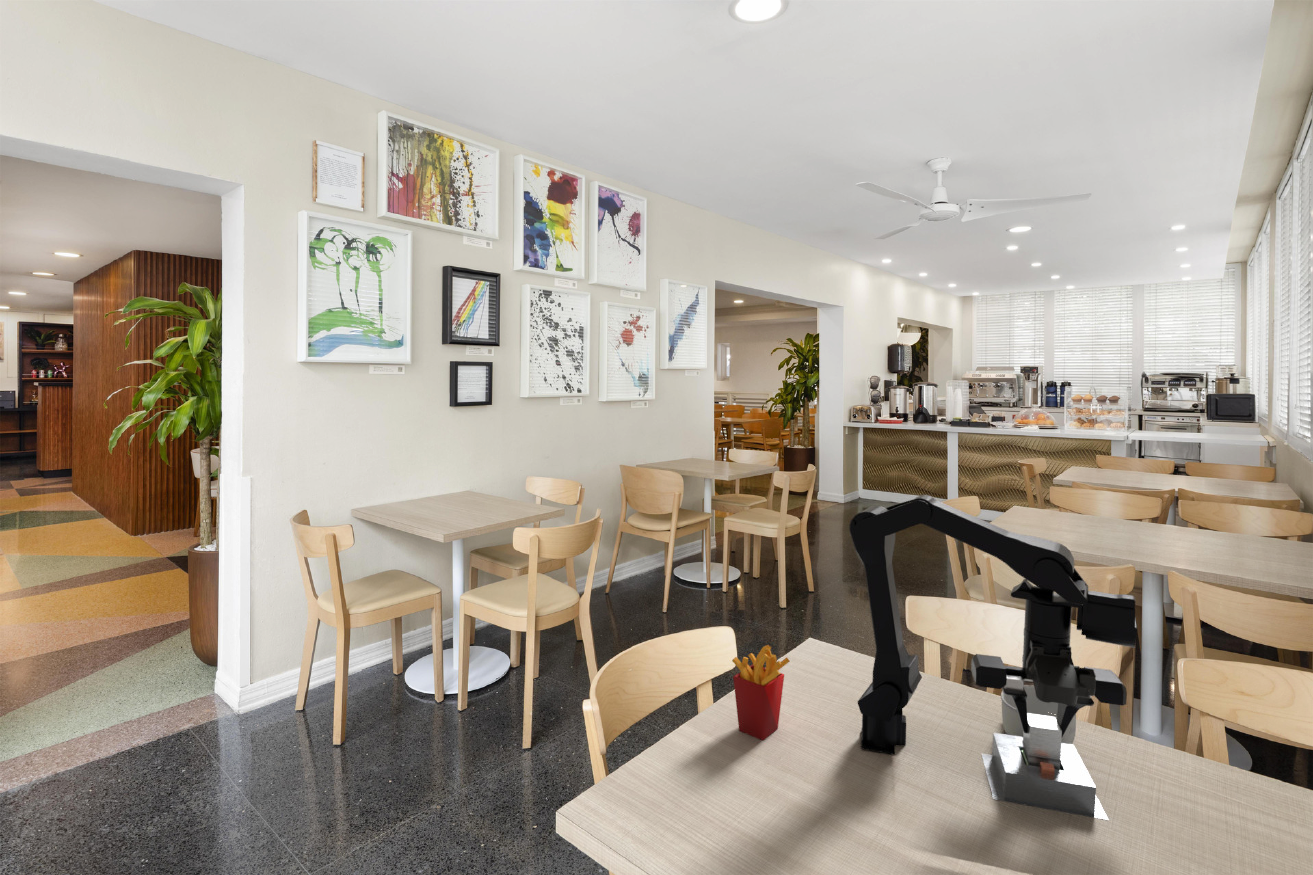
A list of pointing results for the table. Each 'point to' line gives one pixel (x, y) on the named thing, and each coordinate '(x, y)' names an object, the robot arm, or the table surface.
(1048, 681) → the robot arm
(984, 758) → the housing
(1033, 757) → the column
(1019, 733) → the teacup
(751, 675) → the french fries
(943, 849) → the table surface
